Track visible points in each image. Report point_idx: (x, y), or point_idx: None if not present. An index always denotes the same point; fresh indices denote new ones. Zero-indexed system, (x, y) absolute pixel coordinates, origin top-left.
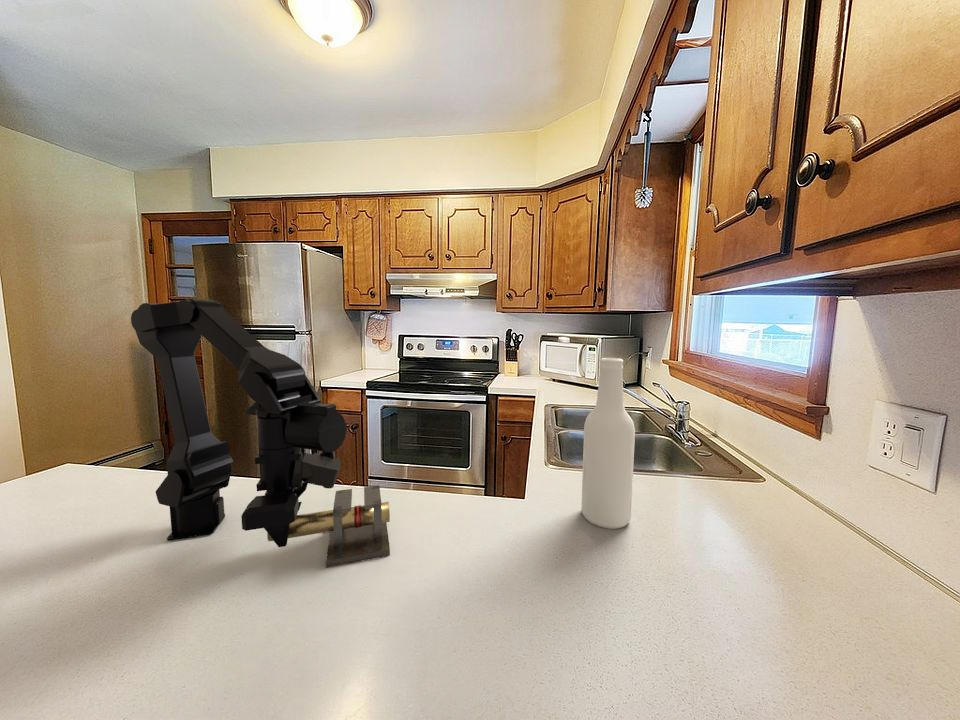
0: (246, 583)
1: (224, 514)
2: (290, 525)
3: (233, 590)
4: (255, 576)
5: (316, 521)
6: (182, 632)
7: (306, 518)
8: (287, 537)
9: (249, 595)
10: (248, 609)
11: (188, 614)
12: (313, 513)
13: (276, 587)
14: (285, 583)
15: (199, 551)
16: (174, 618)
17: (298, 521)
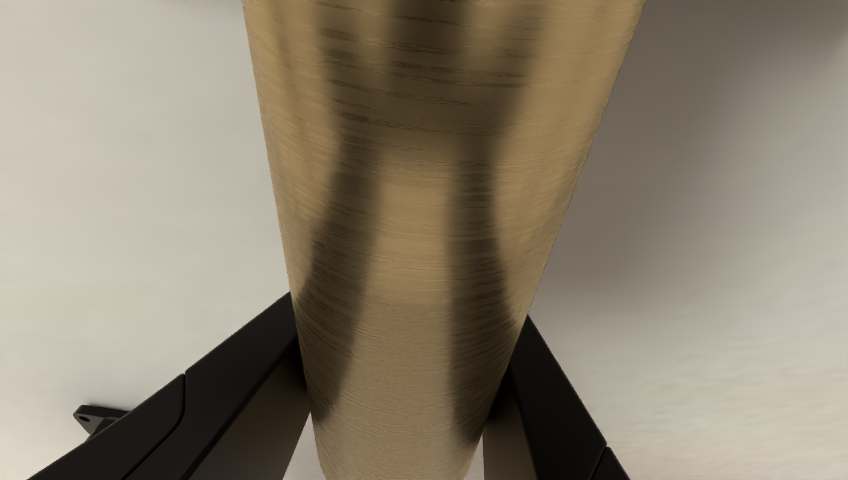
0: (612, 360)
1: (94, 430)
2: (491, 401)
3: (627, 388)
4: (581, 337)
5: (575, 157)
6: (749, 465)
7: (475, 312)
8: (547, 347)
9: (720, 354)
10: (830, 357)
11: (663, 457)
12: (382, 237)
13: (768, 273)
14: (775, 237)
15: (307, 441)
16: (652, 473)
17: (484, 370)
